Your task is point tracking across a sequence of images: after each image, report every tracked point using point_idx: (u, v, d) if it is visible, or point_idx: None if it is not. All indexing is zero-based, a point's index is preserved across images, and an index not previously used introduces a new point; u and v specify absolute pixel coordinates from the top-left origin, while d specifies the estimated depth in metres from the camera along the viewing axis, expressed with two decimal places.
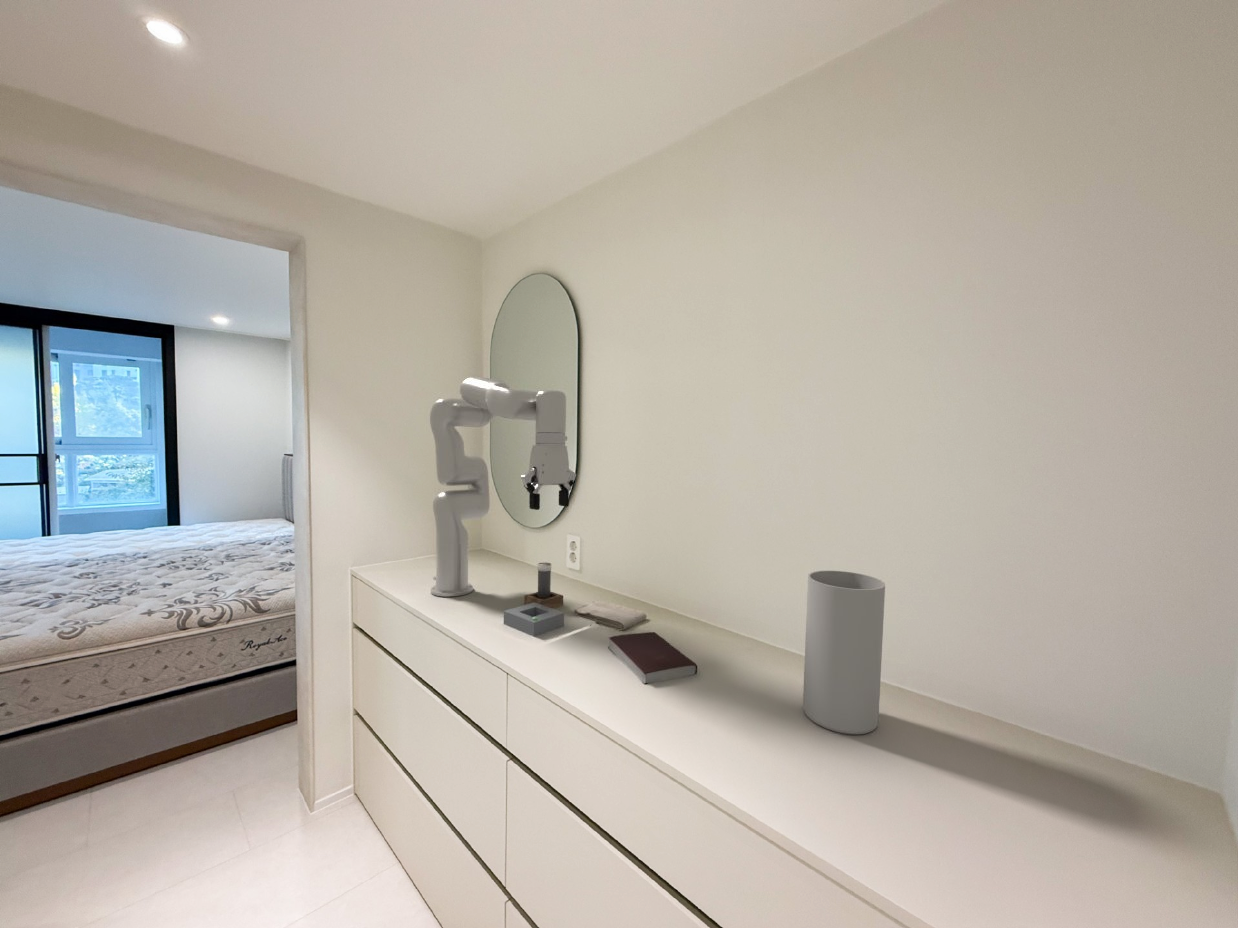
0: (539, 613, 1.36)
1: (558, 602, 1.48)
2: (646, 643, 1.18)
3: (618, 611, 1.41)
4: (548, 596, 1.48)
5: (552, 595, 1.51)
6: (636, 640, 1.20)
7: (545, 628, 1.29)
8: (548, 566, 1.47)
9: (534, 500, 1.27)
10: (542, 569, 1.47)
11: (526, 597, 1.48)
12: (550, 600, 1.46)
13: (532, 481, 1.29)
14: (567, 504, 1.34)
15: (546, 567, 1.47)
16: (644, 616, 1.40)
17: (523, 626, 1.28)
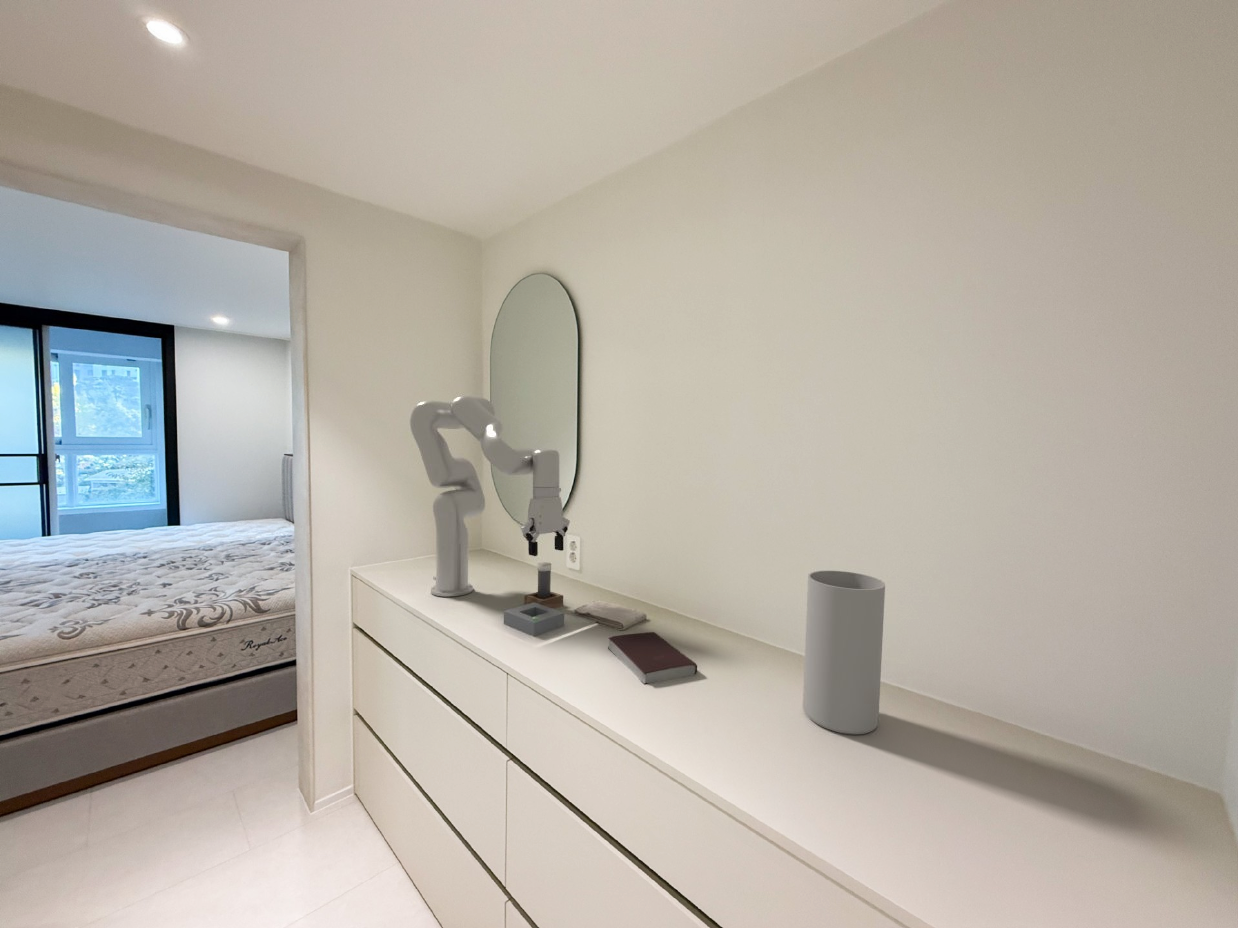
0: (539, 613, 1.36)
1: (558, 602, 1.48)
2: (645, 643, 1.18)
3: (618, 611, 1.41)
4: (548, 596, 1.48)
5: (552, 595, 1.51)
6: (636, 640, 1.20)
7: (545, 628, 1.29)
8: (548, 566, 1.47)
9: (532, 547, 1.43)
10: (542, 569, 1.47)
11: (526, 597, 1.48)
12: (550, 600, 1.46)
13: (530, 530, 1.45)
14: (562, 548, 1.51)
15: (546, 567, 1.47)
16: (644, 616, 1.40)
17: (523, 626, 1.28)
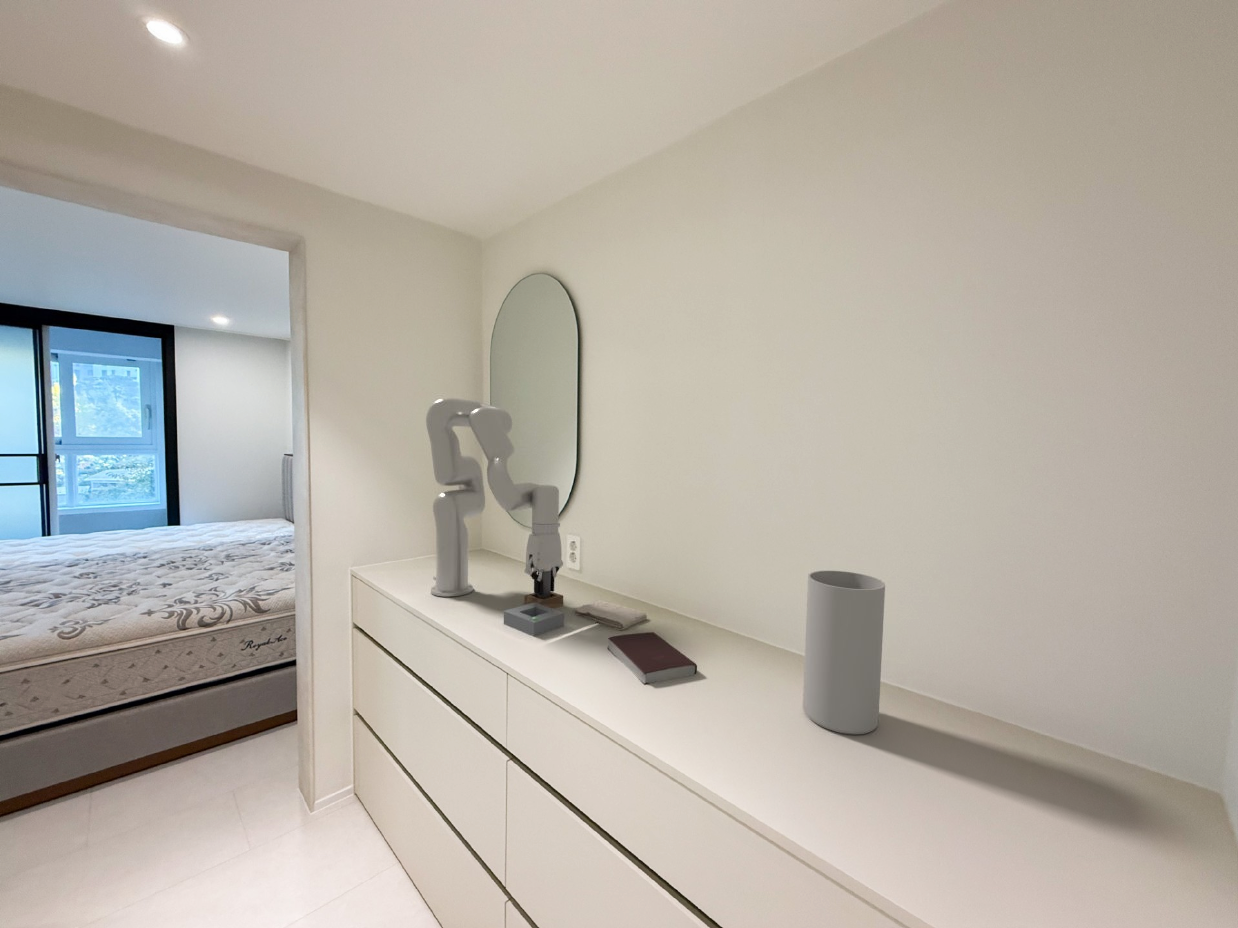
0: (539, 613, 1.36)
1: (558, 602, 1.48)
2: (645, 643, 1.18)
3: (618, 611, 1.41)
4: (548, 596, 1.48)
5: (552, 595, 1.51)
6: (635, 640, 1.19)
7: (545, 628, 1.29)
8: None
9: (538, 586, 1.46)
10: None
11: (526, 597, 1.48)
12: (550, 600, 1.46)
13: None
14: (553, 589, 1.49)
15: None
16: (644, 616, 1.40)
17: (523, 626, 1.28)
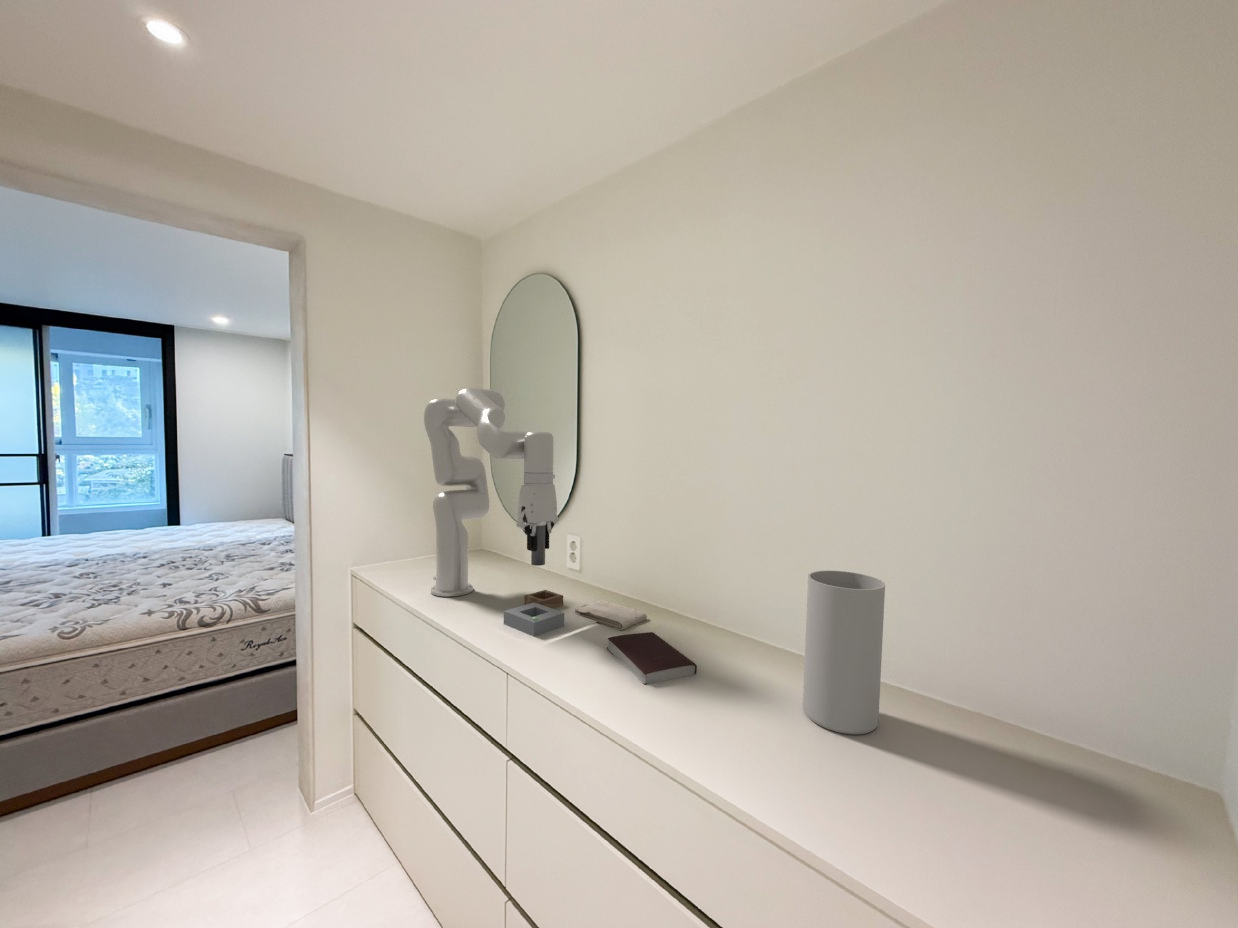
0: (539, 613, 1.36)
1: (558, 602, 1.48)
2: (644, 643, 1.18)
3: (618, 611, 1.41)
4: (543, 553, 1.35)
5: (552, 595, 1.51)
6: (635, 640, 1.19)
7: (545, 628, 1.29)
8: None
9: (531, 542, 1.33)
10: None
11: (526, 597, 1.48)
12: (550, 600, 1.46)
13: None
14: (548, 546, 1.36)
15: None
16: (644, 616, 1.40)
17: (523, 626, 1.28)
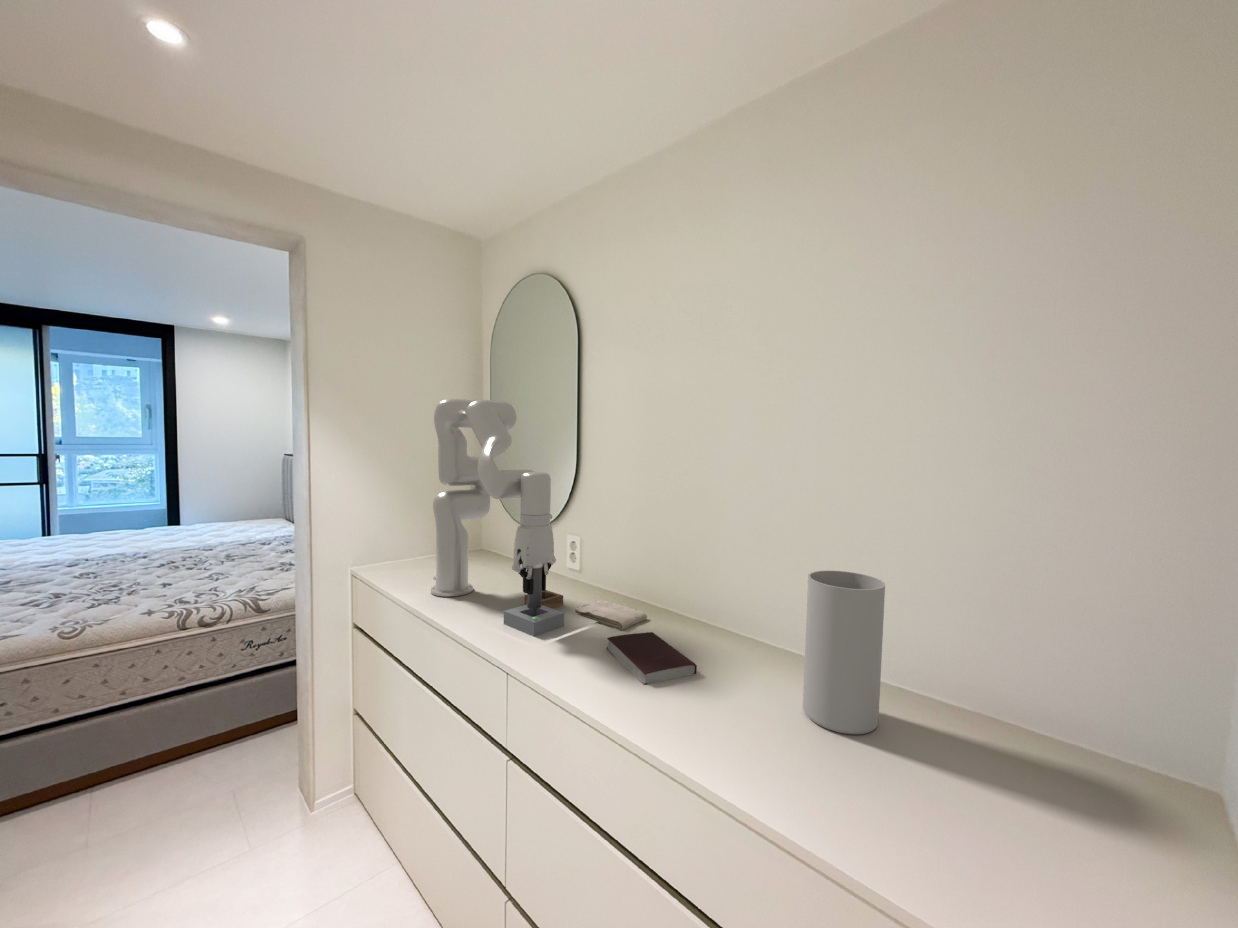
0: (539, 613, 1.36)
1: (558, 602, 1.48)
2: (644, 643, 1.18)
3: (618, 611, 1.41)
4: (539, 596, 1.32)
5: (552, 595, 1.51)
6: (635, 640, 1.19)
7: (545, 628, 1.29)
8: None
9: (527, 585, 1.30)
10: None
11: (526, 597, 1.48)
12: (550, 600, 1.46)
13: None
14: (544, 589, 1.34)
15: None
16: (644, 616, 1.40)
17: (523, 626, 1.28)
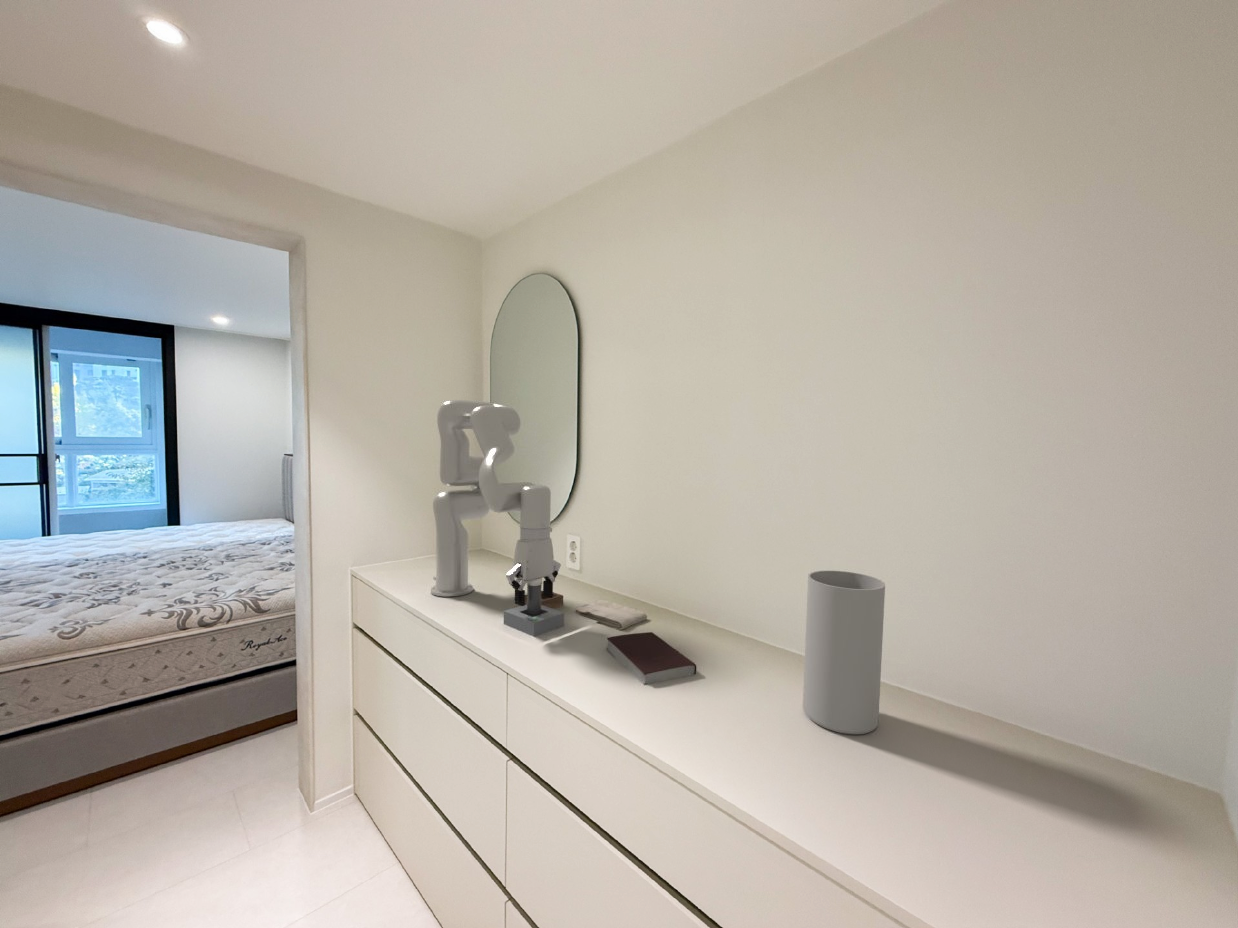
0: None
1: (558, 602, 1.48)
2: (644, 643, 1.18)
3: (618, 611, 1.41)
4: (538, 613, 1.32)
5: None
6: (634, 640, 1.19)
7: (545, 628, 1.29)
8: (538, 580, 1.31)
9: (519, 597, 1.29)
10: (532, 583, 1.31)
11: (526, 597, 1.48)
12: (550, 600, 1.46)
13: (517, 576, 1.30)
14: (551, 596, 1.36)
15: (536, 581, 1.31)
16: (644, 616, 1.40)
17: (523, 626, 1.28)
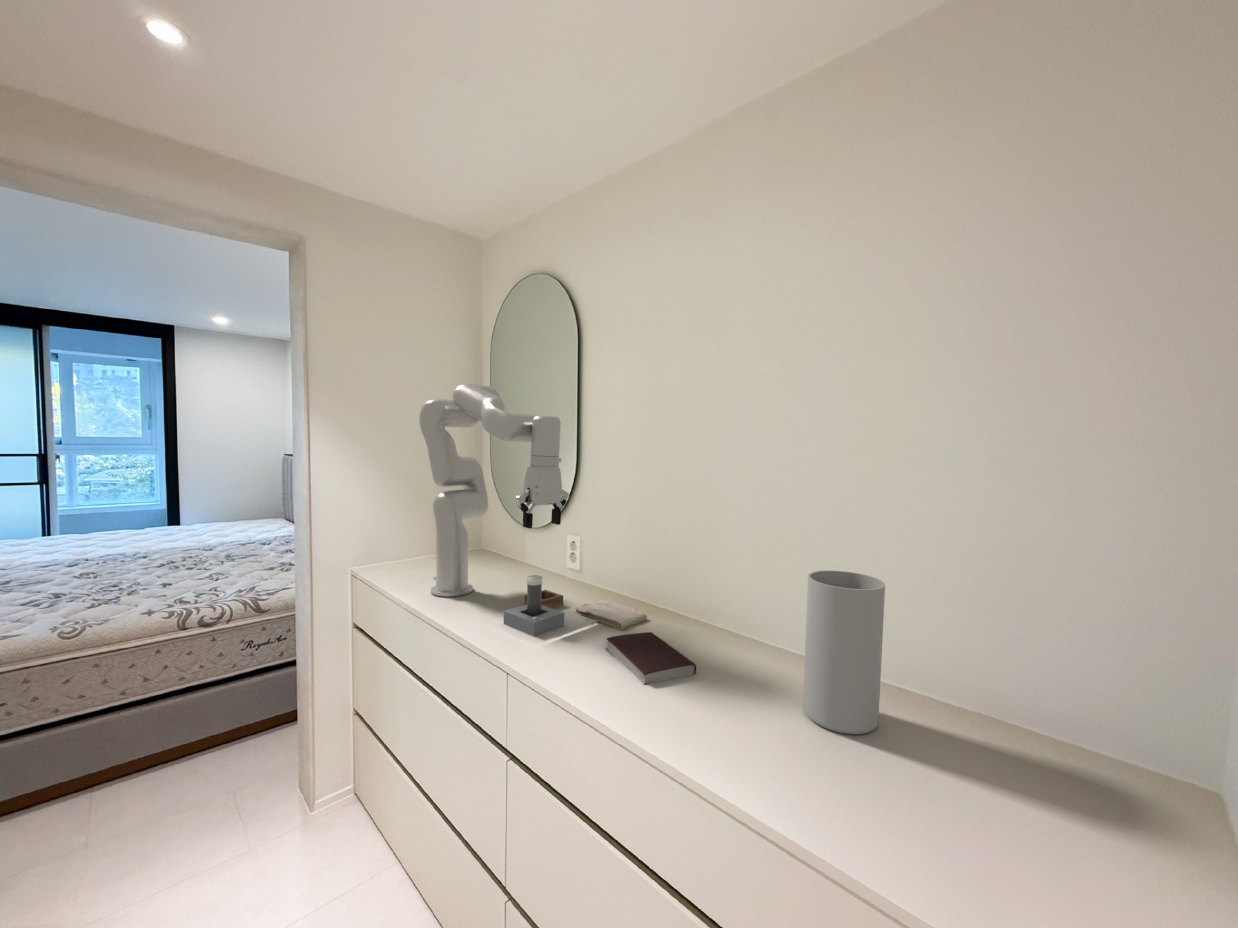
0: None
1: (558, 602, 1.48)
2: (644, 644, 1.18)
3: (618, 611, 1.41)
4: (538, 613, 1.32)
5: (552, 595, 1.51)
6: (634, 640, 1.19)
7: (545, 628, 1.29)
8: (538, 580, 1.32)
9: (527, 519, 1.35)
10: (532, 583, 1.31)
11: (526, 597, 1.48)
12: (550, 600, 1.46)
13: (526, 501, 1.37)
14: (559, 522, 1.42)
15: (536, 581, 1.31)
16: (644, 616, 1.40)
17: (523, 626, 1.28)
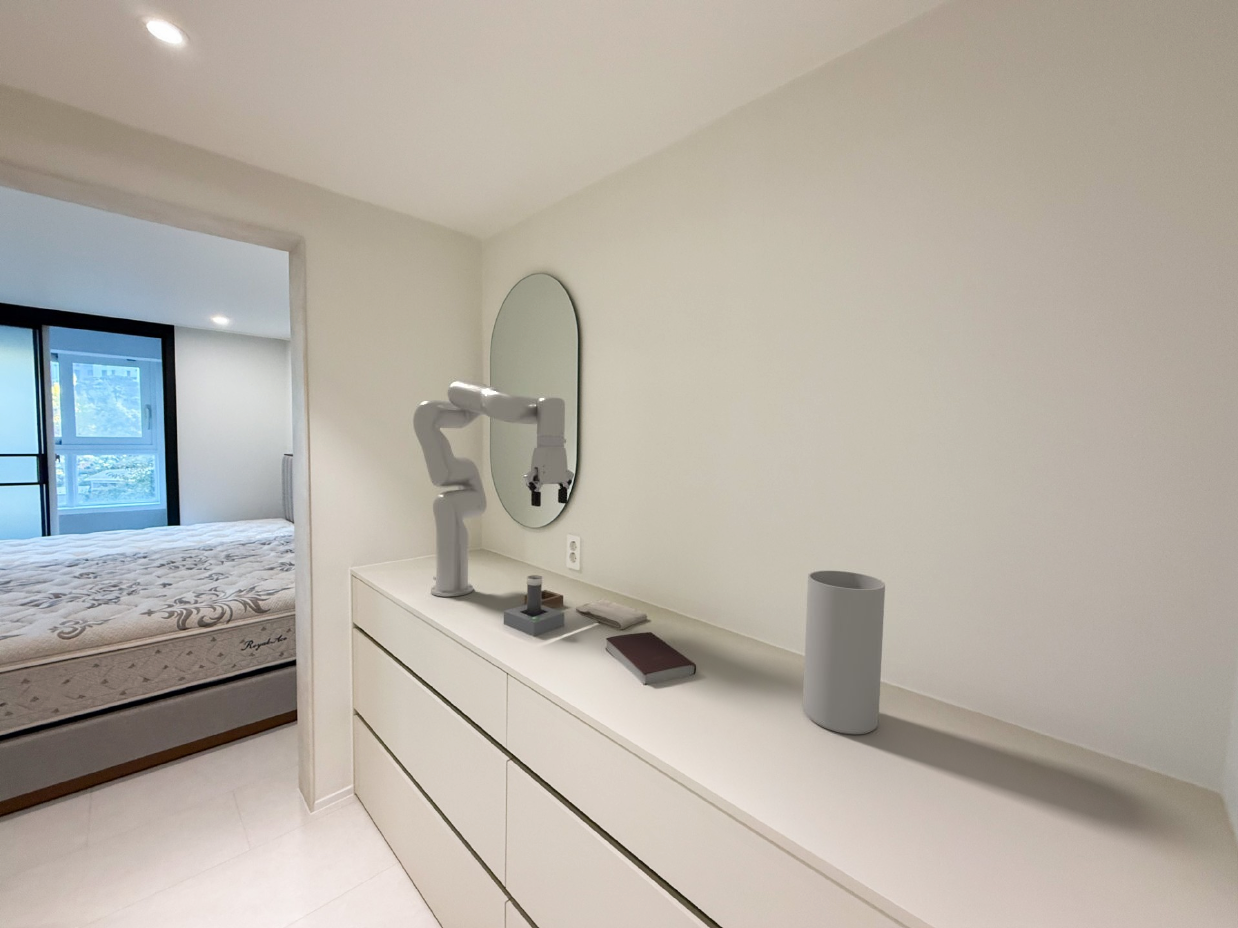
0: None
1: (558, 602, 1.48)
2: (643, 644, 1.18)
3: (618, 611, 1.41)
4: (538, 613, 1.32)
5: (552, 595, 1.51)
6: (633, 640, 1.19)
7: (545, 628, 1.29)
8: (538, 580, 1.32)
9: (535, 498, 1.39)
10: (532, 583, 1.31)
11: (526, 597, 1.48)
12: (550, 600, 1.46)
13: (534, 480, 1.41)
14: (566, 501, 1.46)
15: (536, 581, 1.31)
16: (644, 616, 1.40)
17: (523, 626, 1.28)
